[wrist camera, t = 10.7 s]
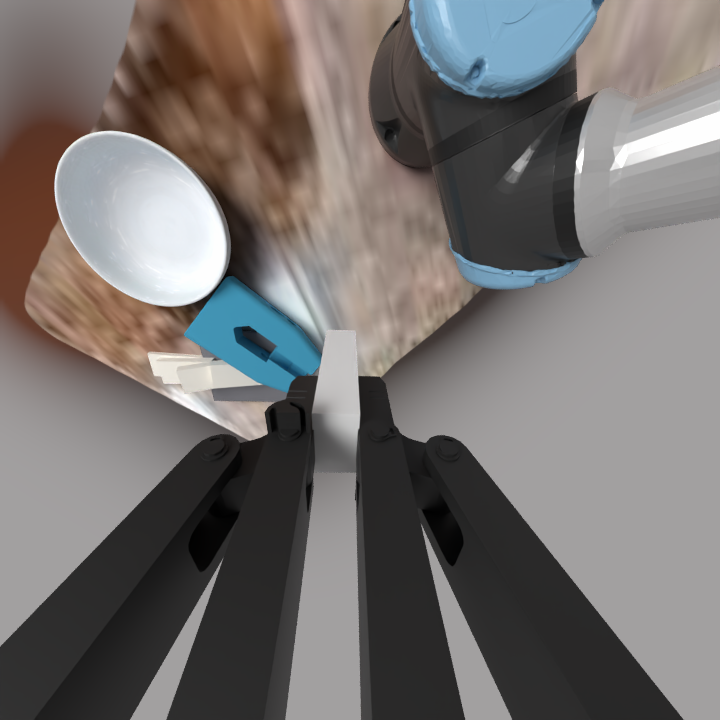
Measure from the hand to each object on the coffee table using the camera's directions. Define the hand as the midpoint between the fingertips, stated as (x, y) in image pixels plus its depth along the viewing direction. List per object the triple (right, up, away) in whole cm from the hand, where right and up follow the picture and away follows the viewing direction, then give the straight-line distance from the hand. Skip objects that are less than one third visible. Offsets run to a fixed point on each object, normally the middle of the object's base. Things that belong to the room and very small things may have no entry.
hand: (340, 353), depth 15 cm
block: (-9, -3, +36) cm, 37 cm away
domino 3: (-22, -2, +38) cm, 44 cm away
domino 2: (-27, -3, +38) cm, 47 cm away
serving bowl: (-28, +20, +27) cm, 44 cm away
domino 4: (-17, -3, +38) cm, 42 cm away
